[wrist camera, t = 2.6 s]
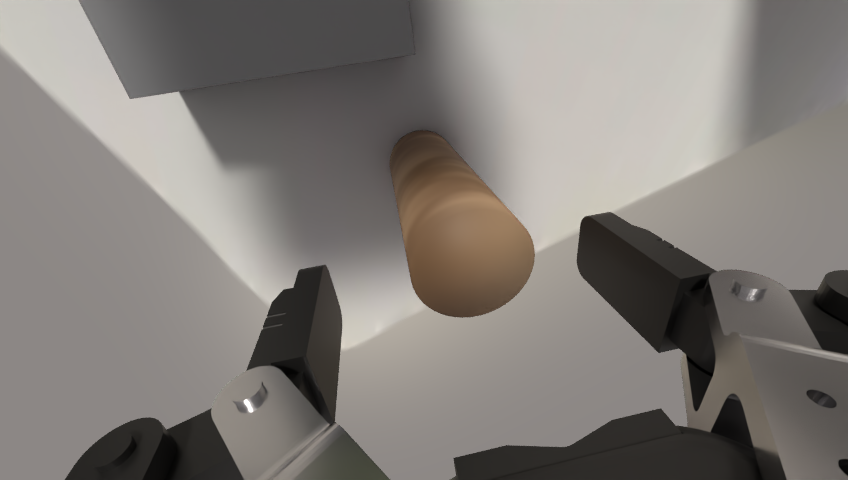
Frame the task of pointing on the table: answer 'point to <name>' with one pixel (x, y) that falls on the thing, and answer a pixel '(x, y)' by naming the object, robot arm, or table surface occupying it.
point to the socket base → (242, 38)
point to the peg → (456, 230)
